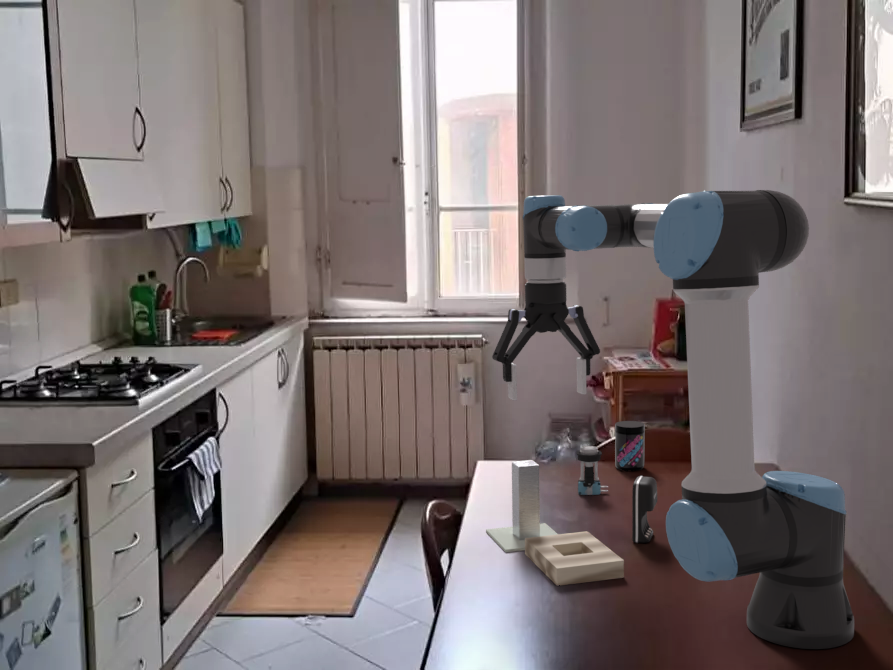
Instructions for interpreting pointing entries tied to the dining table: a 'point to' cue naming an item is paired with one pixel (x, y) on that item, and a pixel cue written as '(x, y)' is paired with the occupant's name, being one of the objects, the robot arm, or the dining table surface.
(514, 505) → the peg
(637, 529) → the key lock box
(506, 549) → the pad
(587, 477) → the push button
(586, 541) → the socket block
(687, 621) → the dining table surface
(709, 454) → the robot arm
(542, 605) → the dining table surface
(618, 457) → the supplement container
